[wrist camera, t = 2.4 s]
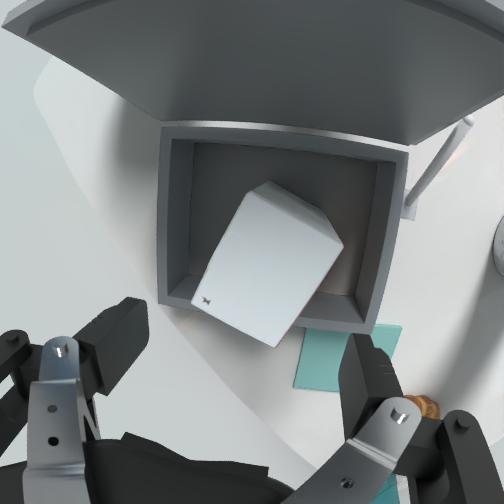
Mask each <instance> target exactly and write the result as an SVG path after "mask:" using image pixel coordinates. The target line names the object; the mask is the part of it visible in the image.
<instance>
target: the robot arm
mask: <svg viewBox="0 0 504 504" xmlns="http://www.w3.org/2000/svg"><path fill="white" fill-rule="evenodd" d="M493 255H494V262H495V265H496V268H497V270H498V271H499V273H500V274H501V275H502V276H503V277H504V217H503V218H502V220H501V222H500V224H499V226H498V228H497V231H496V235H495V239H494V246H493ZM148 340H149V325H148V312H147V303H146V301H145V300H141V299H137V298H132V297H126V298H125V299H124V300H123V301H122V302H120V303H119V304H118V305H117V306H116V305H115V306H113V307H110V308H108V309H105V310H104V311H103V312H101V313H100V314H99V315H98V316H97V317H96V318H94V319H93V320H92V321H91V322H89V323H88V324H87V325H86V326H85V327H84V328H82V329H81V330H80V331H79V332H78V333H77V334H75V335H74V336H73V337H72V338H71V337H66V336H60V337H55V338H52V339H50V340H49V341H47V342H46V343H45V344H44V346H41V345H35V344H30V341H29V338H28V335H27V333H26V332H25V331H22V330H10V331H7V332H5V333H4V334H2V335H1V336H0V383H1V382H2V381H3V380H4V379H5V378H6V377H7V376H8V375H9V374H10V376H11V378H12V380H13V382H14V386H13V387H12V388H11V389H10V390H9V391H8V392H7V393H6V394H5V395H4V396H3V397H2V398H1V399H0V457H1V455H2V454H3V453H4V451H5V450H6V449H7V448H8V446H9V445H10V444H11V442H12V441H13V440H14V438H15V437H16V436H17V435H18V433H19V432H20V431H21V430H22V428H23V427H24V426H25V425H26V423H27V422H28V426H27V461H23V462H19V463H15V464H11V465H6V466H2V467H0V504H370V502H371V501H372V500H373V498H374V497H375V496H376V494H377V493H378V492H379V490H380V489H381V487H382V486H383V485H384V483H385V482H386V480H387V479H388V477H389V476H390V474H391V473H392V474H397V475H402V476H407V479H408V487H409V494H410V503H411V504H504V491H503V487H502V484H501V481H500V478H499V475H498V472H497V469H496V466H495V463H494V461H493V458H492V455H491V453H490V450H489V447H488V445H487V442H486V440H485V437H484V435H483V432H482V430H481V428H480V425H479V423H478V421H477V420H476V418H475V417H474V416H473V415H471V414H470V413H468V412H466V411H463V410H453V411H450V412H449V413H448V414H447V415H446V416H445V418H444V419H443V420H438V419H433V418H428V417H424V416H422V415H421V411H420V409H419V408H418V406H417V405H416V404H415V403H413V402H412V401H410V400H408V399H405V398H404V395H403V393H402V390H401V387H400V384H399V382H398V379H397V376H396V374H395V371H394V368H393V367H392V363H391V360H390V358H389V356H388V355H387V354H386V353H385V352H384V351H383V350H382V349H381V348H375V347H374V344H373V341H372V338H371V336H370V334H360V333H350V334H349V337H348V340H347V343H346V347H345V350H344V353H343V357H342V360H341V363H340V366H339V372H338V383H339V391H340V399H341V408H342V417H343V426H344V437H345V443H344V444H343V445H342V446H341V447H340V448H339V449H338V450H337V451H336V453H335V454H334V455H333V456H332V457H331V458H330V459H329V460H328V461H327V462H326V463H325V464H324V465H323V466H322V467H321V468H320V469H319V470H318V471H317V472H316V473H315V474H313V475H312V476H311V478H309V479H308V480H307V481H306V482H305V483H304V484H303V485H301V486H300V487H299V488H298V489H297V490H296V491H295V490H294V489H292V488H291V487H289V486H288V485H286V484H284V483H282V482H280V481H278V480H276V479H273V478H270V477H268V470H269V467H265V466H258V465H251V464H245V463H239V462H234V461H195V460H189V459H187V458H185V457H183V456H181V455H179V454H177V453H175V452H174V451H172V450H170V449H168V448H166V447H164V446H163V445H161V444H159V443H157V442H154V441H151V440H148V439H145V438H142V437H139V436H136V435H133V434H131V433H128V432H125V433H124V435H123V437H122V438H121V440H118V439H101V436H100V431H99V426H98V420H97V414H96V408H95V401H94V398H93V395H94V394H95V393H96V392H98V393H100V394H103V395H105V396H108V395H109V393H110V392H111V391H112V389H113V388H114V387H115V386H116V384H117V383H118V382H119V381H120V379H121V378H122V377H123V375H124V374H125V373H126V371H127V370H128V369H129V368H130V366H131V365H132V364H133V362H134V361H135V360H136V359H137V357H138V356H139V355H140V354H141V352H142V351H143V350H144V349H145V347H146V346H147V343H148Z"/></svg>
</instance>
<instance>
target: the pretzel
mask: <svg viewBox="0 0 504 504" xmlns="http://www.w3.org/2000/svg"><path fill="white" fill-rule="evenodd" d="M404 398H405V399H408V400H410V401H412V402H413V403H415V404H416V405H417V406H418V408H419V409H420V411H421V415H422V416H424V417H428V418H433V419H438V420H439V419H440V408H439V407H438V405H437V404H436V403H435V402H432V400H430V398H429V397H426V396H422V395H421V396H417V397H415V396H412V395H406V396H404Z"/></svg>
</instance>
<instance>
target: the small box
mask: <svg viewBox="0 0 504 504" xmlns="http://www.w3.org/2000/svg"><path fill="white" fill-rule="evenodd" d="M343 248H344V246H343V244H342V242H341V240H340V239H339V237H338V235H337V233H336V232H335V230H334V228H333V227H332V225H331V223H330V222H329V220H328V218H327V217H326V215H325V213H324V212H323V211H322V210H320V209H319V208H317V207H315V206H313V205H312V204H310V203H308V202H307V201H305V200H303V199H301V198H300V197H298V196H296V195H294V194H293V193H291V192H289V191H287V190H285V189H284V188H282V187H280V186H278V185H277V184H275V183H273V182H271V181H266V182H265V183H263V184H261V185H259V186H257V187H256V188H254V189H252V190H250V191H249V192H247V194H246V195H245V197H244V198H243V200H242V202H241V204H240V206H239V208H238V209H237V211H236V213H235V215H234V217H233V219H232V220H231V222H230V224H229V226H228V228H227V230H226V231H225V233H224V235H223V237H222V239H221V241H220V243H219V244H218V246H217V248H216V250H215V252H214V254H213V256H212V258H211V260H210V261H209V264H208V266H207V269H206V271H205V273H204V276H203V278H202V280H201V282H200V284H199V286H198V288H197V290H196V292H195V294H194V297H193V299H192V301H191V304H192V305H194V306H196V307H198V308H200V309H201V310H203V311H205V312H207V313H208V314H210V315H212V316H214V317H215V318H217V319H219V320H221V321H223V322H225V323H226V324H228V325H230V326H232V327H234V328H236V329H238V330H240V331H242V332H244V333H246V334H248V335H249V336H251V337H253V338H255V339H257V340H259V341H261V342H263V343H265V344H267V345H269V346H271V347H273V348H276V347H277V346H278V344H279V343H280V342H281V340H282V339H283V338H284V336H285V335H286V333H287V332H288V331H289V329H290V328H291V326H292V325H293V324H294V322H295V321H296V319H297V318H298V316H299V315H300V314H301V312H302V311H303V309H304V308H305V306H306V305H307V303H308V302H309V301H310V299H311V298H312V296H313V295H314V293H315V292H316V290H317V289H318V287H319V286H320V284H321V283H322V281H323V280H324V278H325V277H326V275H327V274H328V272H329V270H330V269H331V267H332V266H333V264H334V263H335V261H336V259H337V258H338V256H339V255H340V253H341V252H342V250H343Z"/></svg>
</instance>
